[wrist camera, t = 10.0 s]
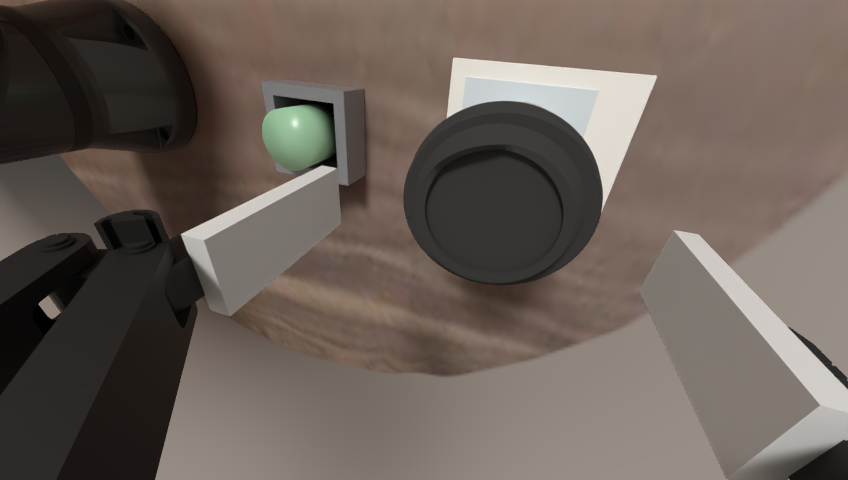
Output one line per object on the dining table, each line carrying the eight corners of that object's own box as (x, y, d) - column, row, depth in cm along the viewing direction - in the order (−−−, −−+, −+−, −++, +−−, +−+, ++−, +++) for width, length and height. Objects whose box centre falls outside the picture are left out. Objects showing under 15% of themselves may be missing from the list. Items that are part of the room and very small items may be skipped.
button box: (299, 162, 34) (276, 171, 31) (288, 79, 29) (261, 80, 27) (365, 174, 32) (348, 185, 29) (364, 88, 28) (343, 91, 25)
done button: (297, 154, 31) (268, 165, 27) (290, 100, 28) (256, 104, 25) (341, 163, 30) (316, 175, 26) (338, 107, 27) (310, 112, 24)
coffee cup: (584, 183, 25) (627, 300, 12) (477, 209, 29) (429, 317, 16) (561, 64, 22) (590, 61, 9) (444, 111, 26) (355, 153, 13)
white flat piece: (439, 198, 30) (437, 201, 30) (455, 57, 24) (453, 57, 24) (591, 229, 27) (593, 233, 27) (654, 75, 21) (657, 75, 20)
